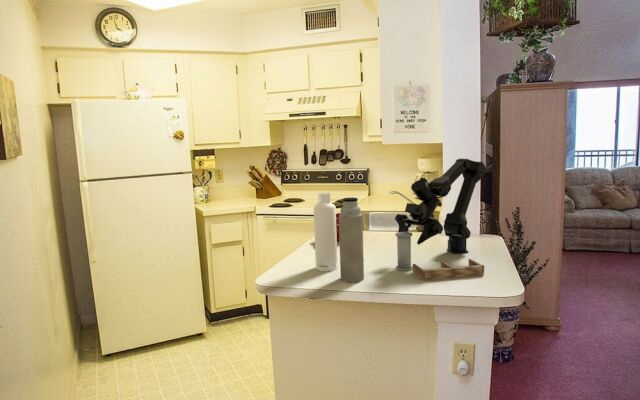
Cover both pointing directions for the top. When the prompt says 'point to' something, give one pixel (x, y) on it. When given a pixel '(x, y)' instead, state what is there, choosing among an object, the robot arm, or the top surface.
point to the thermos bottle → (351, 241)
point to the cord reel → (404, 251)
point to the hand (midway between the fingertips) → (407, 241)
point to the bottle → (325, 233)
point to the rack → (449, 271)
